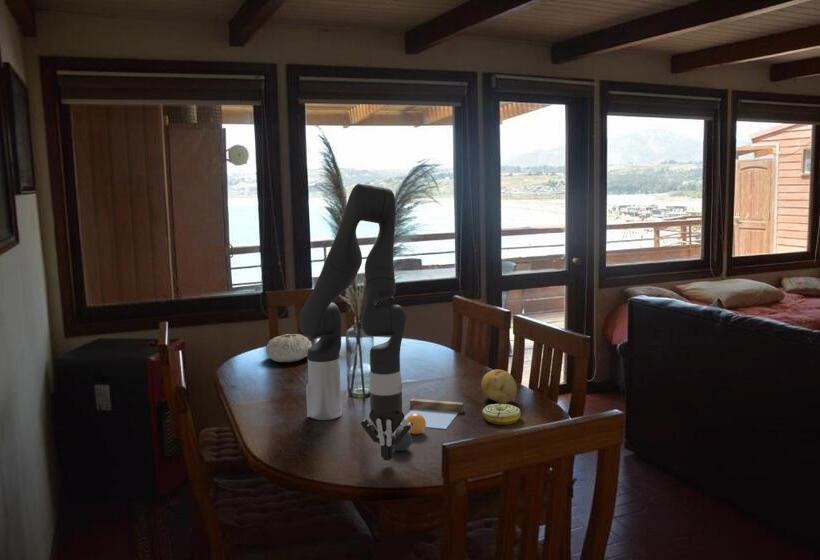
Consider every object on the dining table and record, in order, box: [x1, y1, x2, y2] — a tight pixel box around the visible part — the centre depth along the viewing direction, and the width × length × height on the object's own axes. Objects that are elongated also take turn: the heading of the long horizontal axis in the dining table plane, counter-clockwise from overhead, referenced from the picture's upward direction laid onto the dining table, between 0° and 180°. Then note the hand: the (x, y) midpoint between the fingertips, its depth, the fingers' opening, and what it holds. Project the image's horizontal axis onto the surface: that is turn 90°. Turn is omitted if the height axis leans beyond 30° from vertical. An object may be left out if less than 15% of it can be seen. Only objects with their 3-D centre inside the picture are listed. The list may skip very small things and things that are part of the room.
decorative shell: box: [265, 333, 313, 363], centre depth 260 cm, size 18×18×10 cm
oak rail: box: [409, 397, 465, 414], centre depth 198 cm, size 16×2×2 cm, turn 71°
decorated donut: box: [482, 403, 522, 426], centre depth 189 cm, size 10×11×4 cm
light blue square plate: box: [399, 408, 460, 430], centre depth 191 cm, size 14×14×1 cm
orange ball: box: [406, 413, 426, 435], centre depth 179 cm, size 6×6×6 cm
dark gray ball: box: [394, 428, 413, 452], centre depth 168 cm, size 6×6×6 cm
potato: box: [480, 369, 518, 404], centre depth 204 cm, size 10×12×10 cm
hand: (387, 459), depth 159 cm, fingers closed
